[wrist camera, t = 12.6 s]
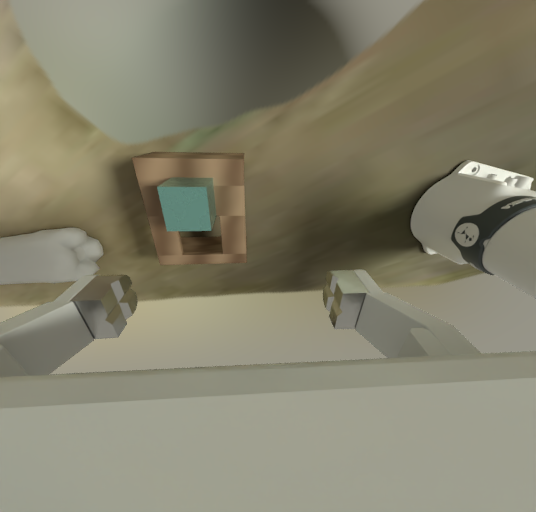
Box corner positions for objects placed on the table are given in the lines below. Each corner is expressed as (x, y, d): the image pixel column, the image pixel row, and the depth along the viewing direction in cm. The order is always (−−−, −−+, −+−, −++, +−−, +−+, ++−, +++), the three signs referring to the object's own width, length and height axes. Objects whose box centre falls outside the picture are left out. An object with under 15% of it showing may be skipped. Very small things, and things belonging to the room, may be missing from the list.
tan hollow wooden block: (243, 153, 36) (243, 159, 29) (246, 241, 44) (246, 262, 37) (154, 151, 35) (131, 157, 28) (174, 242, 43) (160, 264, 36)
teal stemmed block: (217, 170, 35) (206, 186, 25) (220, 203, 38) (211, 230, 28) (182, 169, 34) (156, 186, 24) (188, 203, 37) (166, 231, 27)
